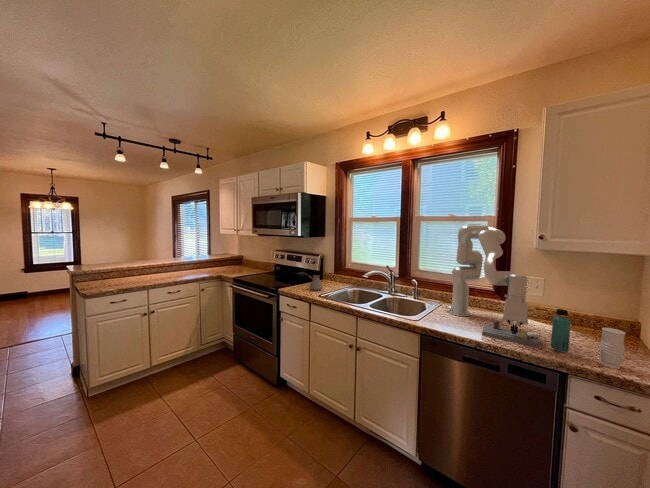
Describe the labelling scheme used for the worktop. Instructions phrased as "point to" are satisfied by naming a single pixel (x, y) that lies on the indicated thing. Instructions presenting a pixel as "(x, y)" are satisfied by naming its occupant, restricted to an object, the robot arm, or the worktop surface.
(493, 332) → the panel
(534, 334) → the block
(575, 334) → the worktop surface
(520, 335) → the brass slider
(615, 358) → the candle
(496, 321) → the dark gray slider
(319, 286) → the gray watering can
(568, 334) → the beverage bottle
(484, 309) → the worktop surface
